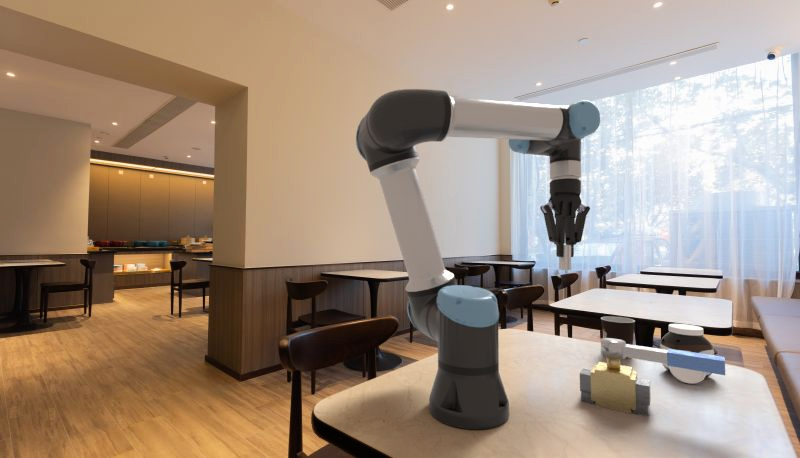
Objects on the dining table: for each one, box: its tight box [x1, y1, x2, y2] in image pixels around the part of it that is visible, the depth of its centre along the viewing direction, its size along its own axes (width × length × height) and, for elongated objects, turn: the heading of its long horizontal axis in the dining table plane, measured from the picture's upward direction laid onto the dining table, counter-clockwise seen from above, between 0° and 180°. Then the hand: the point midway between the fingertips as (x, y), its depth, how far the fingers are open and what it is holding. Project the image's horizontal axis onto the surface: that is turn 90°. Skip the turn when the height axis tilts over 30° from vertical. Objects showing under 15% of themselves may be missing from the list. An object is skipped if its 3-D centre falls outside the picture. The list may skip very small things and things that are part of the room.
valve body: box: [579, 357, 652, 417], centre depth 75 cm, size 12×6×9 cm, turn 54°
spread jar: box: [659, 323, 715, 385], centre depth 89 cm, size 12×11×12 cm
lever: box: [600, 337, 726, 376], centre depth 70 cm, size 4×19×3 cm, turn 50°
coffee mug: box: [600, 316, 636, 345], centre depth 108 cm, size 12×9×10 cm
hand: (565, 269), depth 96 cm, fingers closed
